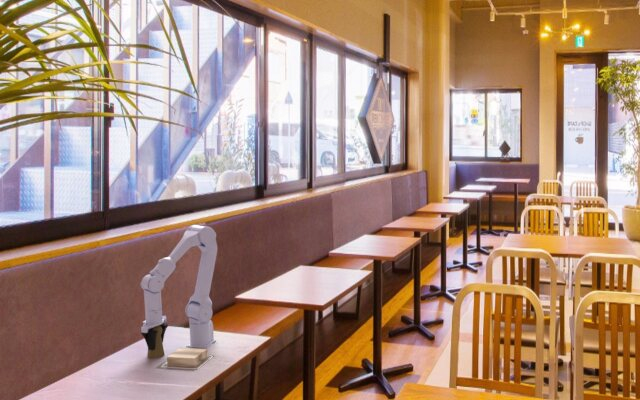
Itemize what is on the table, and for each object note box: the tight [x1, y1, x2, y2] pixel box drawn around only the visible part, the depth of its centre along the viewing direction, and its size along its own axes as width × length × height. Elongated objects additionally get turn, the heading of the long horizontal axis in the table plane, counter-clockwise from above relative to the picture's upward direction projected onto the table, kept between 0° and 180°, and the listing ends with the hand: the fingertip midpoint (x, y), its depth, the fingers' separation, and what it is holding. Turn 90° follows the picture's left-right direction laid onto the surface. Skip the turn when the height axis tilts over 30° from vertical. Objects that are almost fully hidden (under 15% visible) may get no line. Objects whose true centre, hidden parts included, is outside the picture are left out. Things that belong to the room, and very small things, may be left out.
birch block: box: [166, 347, 208, 367], centre depth 227 cm, size 10×10×3 cm
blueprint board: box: [155, 354, 215, 372], centre depth 228 cm, size 16×15×1 cm
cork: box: [147, 325, 165, 359], centre depth 234 cm, size 6×6×11 cm
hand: (155, 347), depth 234 cm, fingers closed on cork, 5 cm apart
